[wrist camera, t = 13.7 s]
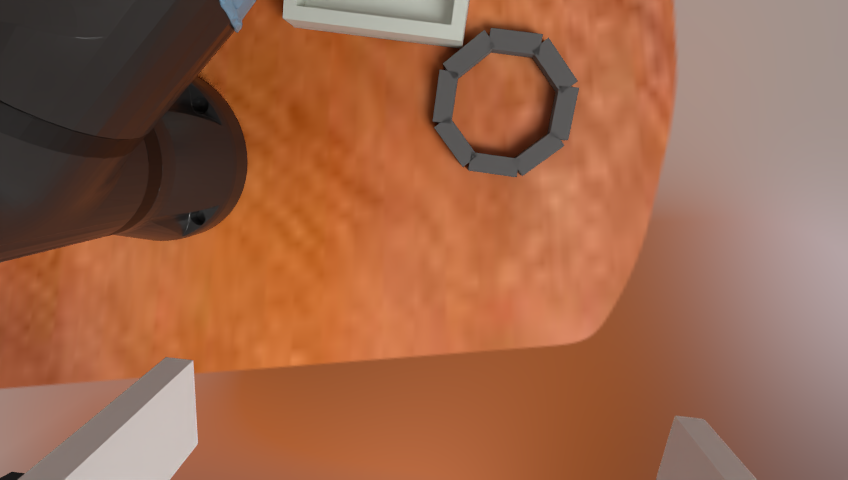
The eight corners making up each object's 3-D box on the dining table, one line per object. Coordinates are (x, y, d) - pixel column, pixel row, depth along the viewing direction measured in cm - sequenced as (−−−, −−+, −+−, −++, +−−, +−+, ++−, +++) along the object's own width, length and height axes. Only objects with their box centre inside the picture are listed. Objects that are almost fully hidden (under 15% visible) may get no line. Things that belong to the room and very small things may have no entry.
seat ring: (427, 163, 36) (426, 164, 35) (446, 26, 34) (446, 22, 33) (556, 182, 36) (559, 183, 35) (584, 43, 33) (588, 39, 32)
